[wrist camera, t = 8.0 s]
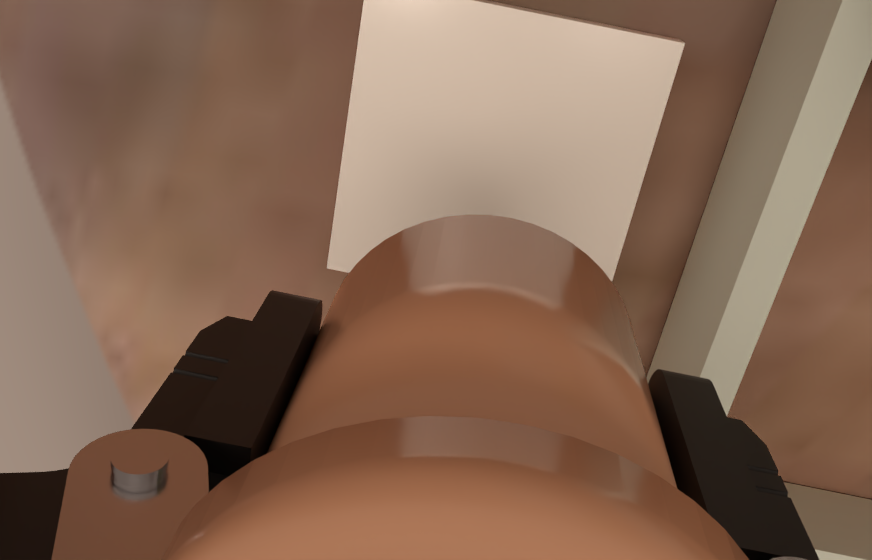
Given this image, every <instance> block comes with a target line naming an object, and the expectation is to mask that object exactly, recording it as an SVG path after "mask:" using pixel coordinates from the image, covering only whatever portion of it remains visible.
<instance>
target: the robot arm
mask: <svg viewBox="0 0 872 560" xmlns="http://www.w3.org/2000/svg"><path fill="white" fill-rule="evenodd" d="M321 316H322V301H321V300H317V299H312V298H307V297H302V296H297V295H292V294H288V293H283V292H278V291H270V293H269V294H268V296H267V297H266V299H265V301H264V302H263V304H262V306H261V307H260V309H259V311H258V312H257V314H256V316H255V317H254V319H253V321H249V320H244V319H239V318H234V317H229V316H227V317H225V318H223V319H221V320H219V321H217V322H216V323H214V324H212V325H210V326H208V327H206V328H205V329H203V330H201V331H200V332H199V333H198V335H197V336H196V338H195V339H194V341H193V342H192V343H191V345H190V346H189V348H188V349H187V350H186V354H185V356H184V355H183V356H182V358H181V359H180V360H179V362H178V363H177V365H176V366H175V368H174V371H173V373H170V375H169V376H168V377H167V379H166V380H165V382H164V383H163V385H162V386H161V387H160V389H159V390H158V392H157V393H156V394H155V396H154V397H153V399H152V400H151V402H150V403H149V404H148V406H147V407H146V409H145V410H144V412H143V413H142V414H141V416H140V417H139V419H138V420H137V421H136V423H135V424H134V426H133V427H132V429H131V430H125V431H119V432H115V433H112V434H108V435H106V436H103V437H101V438H98V439H97V440H95V441H93V442H91V443H89V444H88V445H87V446H85V447H84V448H83V449H82V450H80V452H79V453H78V454H77V455H76V456H75V457H74V459H73V460H72V462H71V464H70V467H69V469H63V470H57V471H49V472H29V473H0V560H162V558H163V556H164V554H165V552H166V550H167V548H168V546H169V545H170V543H171V541H172V539H173V537H174V535H175V533H176V531H177V529H178V527H179V525H180V524H181V522H182V520H183V519H184V518H185V517H186V515H187V514H188V513H189V512H190V510H191V509H192V508H193V507H194V505H195V504H197V503H198V502H199V501H200V500H201V499H202V498H203V497H204V496H206V495H207V494H208V493H209V492H210V491H211V490H212V489H213V488H214V487H216V486H217V485H218V484H219V483H220V482H221V481H222V480H224V479H226V478H227V477H229V476H230V475H232V474H233V473H235V472H236V471H238V470H239V469H241V468H242V467H244V466H245V465H247V464H248V463H250V462H252V461H253V460H255V459H257V458H259V457H261V456H263V455H265V454H266V453H267V451H268V449H269V446H270V444H271V442H272V440H273V437H274V435H275V433H276V430H277V428H278V426H279V423H280V421H281V419H282V417H283V414H284V412H285V410H286V407H287V405H288V403H289V400H290V398H291V396H292V394H293V391H294V389H295V387H296V384H297V382H298V380H299V377H300V375H301V373H302V371H303V368H304V366H305V364H306V361H307V359H308V357H309V354H310V352H311V350H312V348H313V345H314V343H315V341H316V338H317V336H318V334H319V331H320V324H321ZM648 385H649V389H650V393H651V396H652V400H653V403H654V407H655V410H656V414H657V418H658V421H659V425H660V428H661V432H662V435H663V439H664V442H665V446H666V450H667V453H668V457H669V460H670V464H671V467H672V471H673V475H674V478H675V482H676V485H677V489H678V490H680V491H681V492H683V493H684V494H685V495H687V496H688V497H690V498H691V499H693V500H694V501H695V502H696V503H697V504H698V505H699V506H701V507H702V508H703V509H704V510H705V511H706V512H707V513H708V514H709V515H710V516H711V517H712V518H714V519H715V520H716V521H717V522H718V523H719V524H720V525H721V526H722V527H723V528H724V529H725V530H726V531H727V532H728V534H729V535H730V536H731V537H732V539H733V540H734V541H735V542H736V544H737V545H738V546H739V547H740V549H741V550H742V551H743V552H744V554H745V555H746V556H747V557H748V559H749V560H819V558H818V555H817V553H816V551H815V549H814V547H813V545H812V542H811V540H810V538H809V536H808V534H807V532H806V530H805V527H804V525H803V523H802V521H801V519H800V517H799V515H798V512H797V510H796V508H795V506H794V504H793V502H792V499H791V498H789V497H788V491H787V489H786V487H785V484H784V482H783V480H782V478H781V476H778V469H777V467H776V465H775V463H774V461H773V459H772V457H771V454H770V452H769V450H768V448H767V446H766V445H765V444H764V442H763V441H762V440H761V439H760V438H759V437H758V436H757V435H756V434H755V433H754V432H753V431H752V430H751V429H750V428H749V427H748V426H747V425H746V424H745V423H744V422H743V421H742V420H738V419H733V418H728V417H727V416H726V414H725V411H724V409H723V407H722V404H721V402H720V399H719V397H718V394H717V392H716V390H715V387H714V385H713V383H712V381H711V380H710V379H706V378H701V377H696V376H691V375H687V374H682V373H677V372H672V371H667V370H662V369H657V370H656V371H655V372H654V373H653V375H652V376H651V378H650V380H649V383H648Z"/></svg>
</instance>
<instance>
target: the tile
mask: <svg viewBox="0 0 872 560" xmlns="http://www.w3.org/2000/svg"><path fill="white" fill-rule="evenodd" d="M684 45H685V43H684V42H683V41H682V40H681V39H676V38H671V37H666V36H661V35H656V34H651V33H646V32H641V31H636V30H632V29H627V28H622V27H617V26H612V25H607V24H602V23H597V22H592V21H587V20H582V19H577V18H572V17H567V16H563V15H558V14H553V13H548V12H543V11H538V10H533V9H528V8H523V7H518V6H513V5H508V4H503V3H498V2H494V1H489V0H364V2H363V10H362V17H361V24H360V31H359V38H358V46H357V53H356V60H355V67H354V74H353V82H352V89H351V96H350V103H349V111H348V118H347V125H346V132H345V139H344V147H343V154H342V161H341V168H340V176H339V183H338V190H337V197H336V204H335V212H334V219H333V226H332V233H331V240H330V248H329V255H328V262H327V269H332V270H337V271H342V272H347V273H350V271H351V270H352V269H353V268H354V266H355V265H356V264H357V263H358V262H359V261H360V260H361V259H362V258H363V257H364V256H365V255H366V254H367V253H368V252H369V251H370V250H372V249H373V248H375V247H376V246H377V245H379V244H380V243H382V242H383V241H384V240H386V239H387V238H389V237H391V236H393V235H395V234H397V233H398V232H400V231H402V230H404V229H406V228H409V227H412V226H414V225H417V224H420V223H422V222H425V221H430V220H434V219H438V218H442V217H448V216H457V215H466V214H473V215H494V216H502V217H509V218H514V219H517V220H521V221H525V222H528V223H532V224H535V225H537V226H540V227H542V228H544V229H547V230H549V231H552V232H554V233H555V234H557V235H559V236H561V237H563V238H564V239H566V240H568V241H570V242H571V243H573V244H574V245H575V246H577V247H578V248H579V249H581V250H582V251H583V252H584V253H586V254H587V255H588V256H589V257H590V258H591V259H592V260H593V261H594V262H595V263H596V264H597V265H598V266H599V267H600V268H601V269H602V270H603V271H604V272H605V274H606V275H607V276H608V278H609V279H610V280H611V282H612V280H613V277H614V274H615V270H616V267H617V264H618V260H619V257H620V254H621V251H622V247H623V244H624V241H625V238H626V234H627V231H628V228H629V225H630V221H631V218H632V215H633V211H634V208H635V205H636V202H637V198H638V195H639V192H640V189H641V185H642V182H643V179H644V176H645V172H646V169H647V166H648V162H649V159H650V156H651V153H652V149H653V146H654V143H655V140H656V136H657V133H658V130H659V127H660V123H661V120H662V117H663V114H664V110H665V107H666V104H667V100H668V97H669V94H670V91H671V87H672V84H673V81H674V78H675V74H676V71H677V68H678V65H679V61H680V58H681V55H682V51H683V48H684Z"/></svg>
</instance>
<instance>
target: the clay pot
mask: <svg viewBox="0 0 872 560" xmlns="http://www.w3.org/2000/svg"><path fill="white" fill-rule="evenodd" d="M162 560H749V559H748V557H747V556H746V555H745V554H744V552H743V551H742V550H741V549H740V547H739V546H738V545H737V544H736V542H735V541H734V540H733V539H732V537H731V536H730V535H729V534H728V532H727V531H726V530H725V529H724V528H723V527H722V526H721V525H720V524H719V523H718V522H717V521H716V520H715V519H714V518H712V517H711V516H710V515H709V514H708V513H707V512H706V511H705V510H704V509H703V508H702V507H701V506H699V505H698V504H697V503H696V502H695V501H694V500H693V499H691V498H690V497H688V496H687V495H685V494H684V493H683V492H681V491H680V490H678V489H677V485H676V482H675V478H674V475H673V471H672V467H671V464H670V460H669V457H668V453H667V450H666V446H665V442H664V439H663V435H662V432H661V428H660V425H659V421H658V418H657V414H656V410H655V407H654V403H653V400H652V396H651V393H650V389H649V385H648V382H647V378H646V375H645V371H644V368H643V364H642V361H641V357H640V353H639V350H638V346H637V343H636V339H635V336H634V332H633V328H632V325H631V321H630V318H629V316H628V313H627V310H626V307H625V305H624V302H623V300H622V298H621V297H620V295H619V293H618V291H617V289H616V288H615V286H614V284H613V283H612V282H611V280H610V279H609V278H608V276H607V275H606V274H605V272H604V271H603V270H602V269H601V268H600V267H599V266H598V265H597V264H596V263H595V262H594V261H593V260H592V259H591V258H590V257H589V256H588V255H587V254H586V253H584V252H583V251H582V250H581V249H579V248H578V247H577V246H575V245H574V244H573V243H571V242H570V241H568V240H566V239H564V238H563V237H561V236H559V235H557V234H555V233H554V232H552V231H549V230H547V229H544V228H542V227H540V226H537V225H535V224H532V223H528V222H525V221H521V220H517V219H514V218H509V217H502V216H494V215H473V214H466V215H457V216H448V217H442V218H438V219H434V220H430V221H425V222H422V223H420V224H417V225H414V226H412V227H409V228H406V229H404V230H402V231H400V232H398V233H397V234H395V235H393V236H391V237H389V238H387V239H386V240H384V241H383V242H382V243H380V244H379V245H377V246H376V247H375V248H373V249H372V250H370V251H369V252H368V253H367V254H366V255H365V256H364V257H363V258H362V259H361V260H360V261H359V262H358V263H357V264H356V265H355V266H354V268H353V269H352V270H351V271H350V273H349V274H348V275H347V276H346V278H345V279H344V281H343V283H342V284H341V286H340V288H339V290H338V291H337V293H336V295H335V297H334V299H333V302H332V304H331V306H330V309H329V311H328V313H327V315H326V318H325V320H324V322H323V325H322V327H321V329H320V331H319V334H318V336H317V338H316V341H315V343H314V345H313V348H312V350H311V352H310V354H309V357H308V359H307V361H306V364H305V366H304V368H303V371H302V373H301V375H300V377H299V380H298V382H297V384H296V387H295V389H294V391H293V394H292V396H291V398H290V400H289V403H288V405H287V407H286V410H285V412H284V414H283V417H282V419H281V421H280V423H279V426H278V428H277V430H276V433H275V435H274V437H273V440H272V442H271V444H270V446H269V449H268V451H267V453H266V454H265V455H263V456H261V457H259V458H257V459H255V460H253V461H252V462H250V463H248V464H247V465H245V466H244V467H242V468H241V469H239V470H238V471H236V472H235V473H233V474H232V475H230V476H229V477H227V478H226V479H224V480H222V481H221V482H220V483H219V484H218V485H217V486H216V487H214V488H213V489H212V490H211V491H210V492H209V493H208V494H207V495H206V496H204V497H203V498H202V499H201V500H200V501H199V502H198V503H197V504H195V505H194V507H193V508H192V509H191V510H190V512H189V513H188V514H187V515H186V517H185V518H184V519H183V520H182V522H181V524H180V525H179V527H178V529H177V531H176V533H175V535H174V537H173V539H172V541H171V543H170V545H169V546H168V548H167V550H166V552H165V554H164V556H163V558H162Z"/></svg>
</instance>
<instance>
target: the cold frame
mask: <svg viewBox="0 0 872 560" xmlns="http://www.w3.org/2000/svg"><path fill="white" fill-rule="evenodd" d="M871 59H872V0H777V1H776V4H775V7H774V10H773V13H772V16H771V19H770V22H769V25H768V28H767V30H766V33H765V36H764V39H763V42H762V45H761V48H760V51H759V54H758V56H757V59H756V62H755V65H754V68H753V71H752V74H751V77H750V80H749V82H748V85H747V88H746V91H745V94H744V97H743V100H742V103H741V106H740V109H739V111H738V114H737V117H736V120H735V123H734V126H733V129H732V132H731V135H730V137H729V140H728V143H727V146H726V149H725V152H724V155H723V158H722V161H721V163H720V166H719V169H718V172H717V175H716V178H715V181H714V184H713V187H712V190H711V192H710V195H709V198H708V201H707V204H706V207H705V210H704V213H703V216H702V218H701V221H700V224H699V227H698V230H697V233H696V236H695V239H694V242H693V244H692V247H691V250H690V253H689V256H688V259H687V262H686V265H685V268H684V270H683V273H682V276H681V279H680V282H679V285H678V288H677V291H676V294H675V297H674V299H673V302H672V305H671V308H670V311H669V314H668V317H667V320H666V323H665V325H664V328H663V331H662V334H661V337H660V340H659V343H658V346H657V349H656V351H655V354H654V357H653V360H652V363H651V366H650V369H649V372H648V375H647V382H648V383H649V380H650V378H651V376H652V375H653V373H654V372H655V371H656V370H657V369H662V370H667V371H672V372H677V373H682V374H687V375H691V376H696V377H701V378H706V379H710V380H711V381H712V383H713V385H714V387H715V390H716V392H717V394H718V397H719V399H720V402H721V404H722V407H723V409H724V411H725V414H726V416H727V415H728V412H729V410H730V407H731V405H732V402H733V400H734V397H735V395H736V393H737V390H738V388H739V385H740V383H741V380H742V378H743V375H744V373H745V370H746V368H747V365H748V363H749V360H750V358H751V356H752V353H753V351H754V348H755V346H756V343H757V341H758V338H759V336H760V333H761V331H762V328H763V326H764V323H765V321H766V318H767V316H768V314H769V311H770V309H771V306H772V304H773V301H774V299H775V296H776V294H777V291H778V289H779V286H780V284H781V281H782V279H783V277H784V274H785V272H786V269H787V267H788V264H789V262H790V259H791V257H792V254H793V252H794V249H795V247H796V244H797V242H798V240H799V237H800V235H801V232H802V230H803V227H804V225H805V222H806V220H807V217H808V215H809V212H810V210H811V207H812V205H813V202H814V200H815V198H816V195H817V193H818V190H819V188H820V185H821V183H822V180H823V178H824V175H825V173H826V170H827V168H828V165H829V163H830V161H831V158H832V156H833V153H834V151H835V148H836V146H837V143H838V141H839V138H840V136H841V133H842V131H843V128H844V126H845V124H846V121H847V119H848V116H849V114H850V111H851V109H852V106H853V104H854V101H855V99H856V96H857V94H858V91H859V89H860V86H861V84H862V82H863V79H864V77H865V74H866V72H867V69H868V67H869V64H870V62H871ZM784 484H785V487H786V489H787V491H788V497H789V498H791V499H792V502H793V504H794V506H795V508H796V510H797V512H798V515H799V517H800V519H801V521H802V523H803V525H804V527H805V530H806V532H807V534H808V536H809V538H810V540H811V542H812V545H813V547H814V549H815V551H816V553H817V555H818V558H819V560H872V500H871V499H866V498H861V497H856V496H851V495H846V494H841V493H836V492H831V491H826V490H821V489H816V488H811V487H806V486H801V485H796V484H791V483H786V482H784Z"/></svg>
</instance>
